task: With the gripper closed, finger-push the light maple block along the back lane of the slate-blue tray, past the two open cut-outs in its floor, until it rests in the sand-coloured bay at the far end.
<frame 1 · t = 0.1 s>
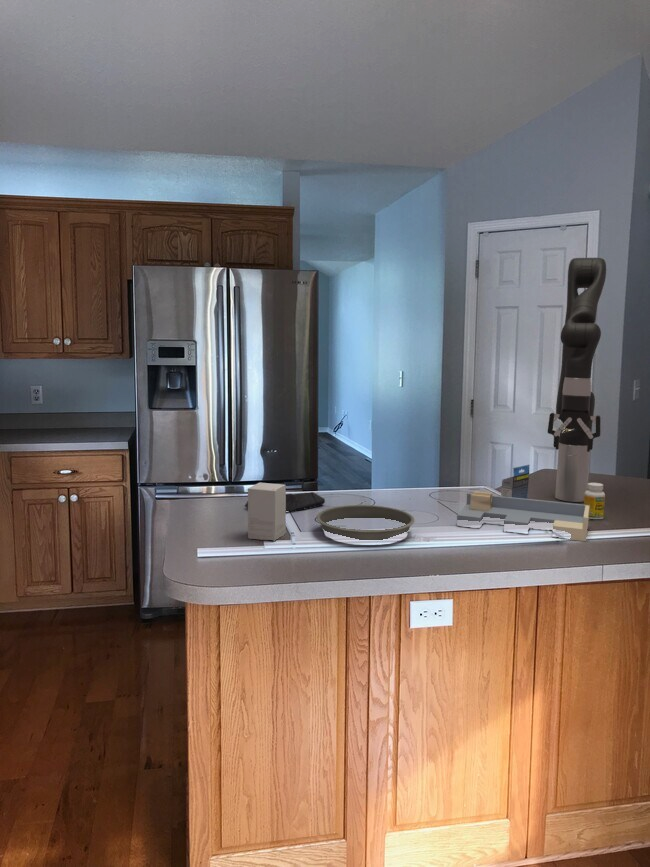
hand: (572, 450, 212), 17 cm above the countertop, tool pointing down, fingers open, 8 cm apart
cake pan: (364, 534, 186), on the countertop
label tape box: (513, 507, 216), on the countertop
supplement box: (266, 537, 181), on the countertop
supplement bottle: (593, 518, 205), on the countertop
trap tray: (522, 526, 194), on the countertop
maple block: (481, 508, 201), point 3 cm above the countertop, touching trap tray
dark slate chunk: (285, 508, 211), on the countertop
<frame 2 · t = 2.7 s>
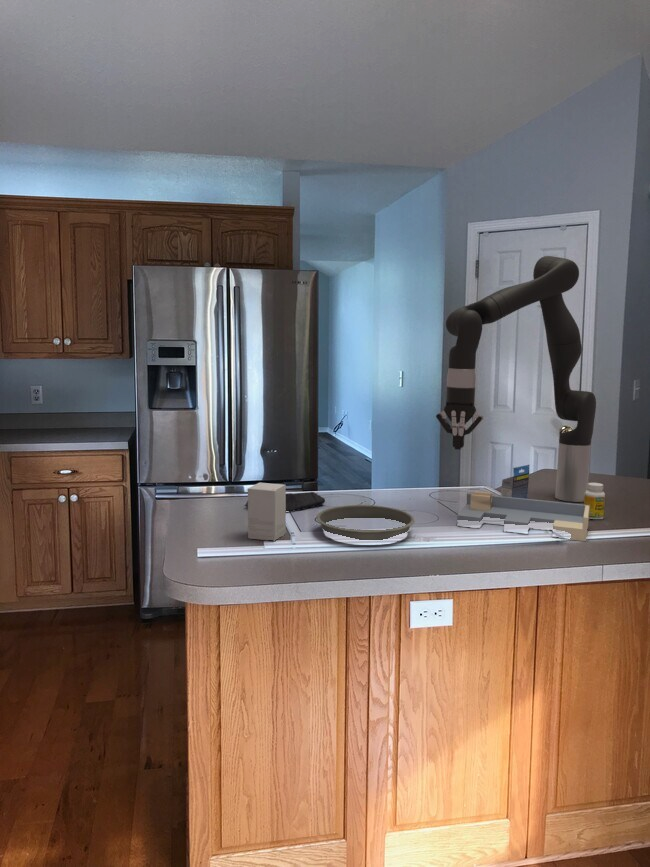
hand: (458, 449, 201), 19 cm above the countertop, tool pointing down, fingers closed
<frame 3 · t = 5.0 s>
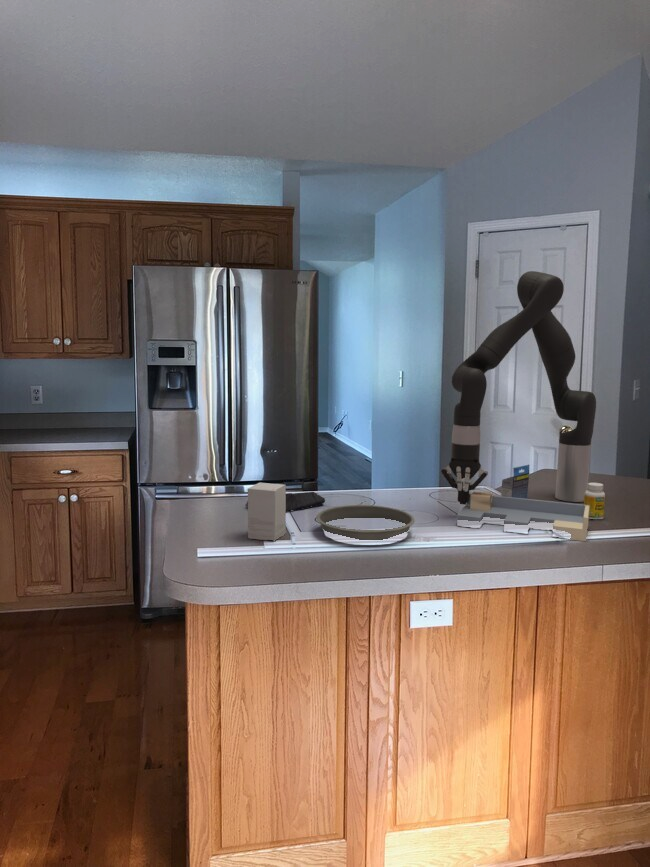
hand: (463, 503, 203), 4 cm above the countertop, tool pointing down, fingers closed
maple block: (481, 508, 201), point 3 cm above the countertop, touching gripper, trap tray
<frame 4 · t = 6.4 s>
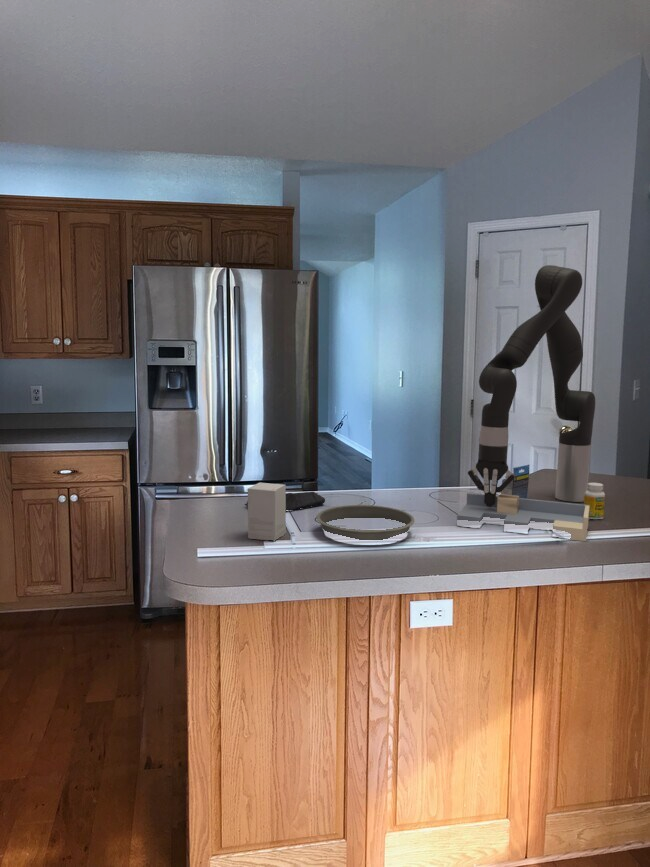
hand: (489, 506, 200), 4 cm above the countertop, tool pointing down, fingers closed
maple block: (507, 511, 198), point 3 cm above the countertop, touching gripper
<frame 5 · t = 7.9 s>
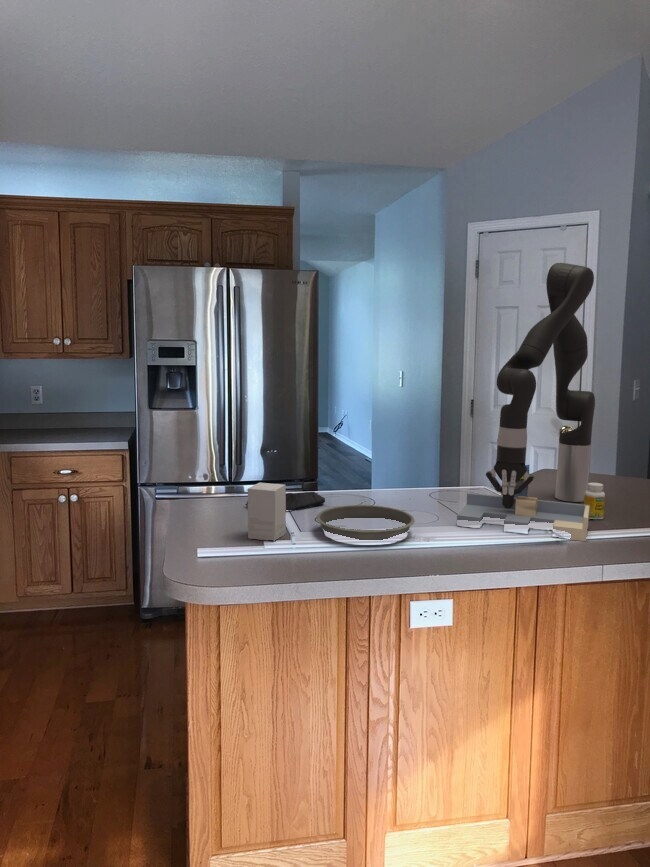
hand: (507, 507, 198), 4 cm above the countertop, tool pointing down, fingers closed
maple block: (525, 513, 196), point 3 cm above the countertop, touching gripper, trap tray
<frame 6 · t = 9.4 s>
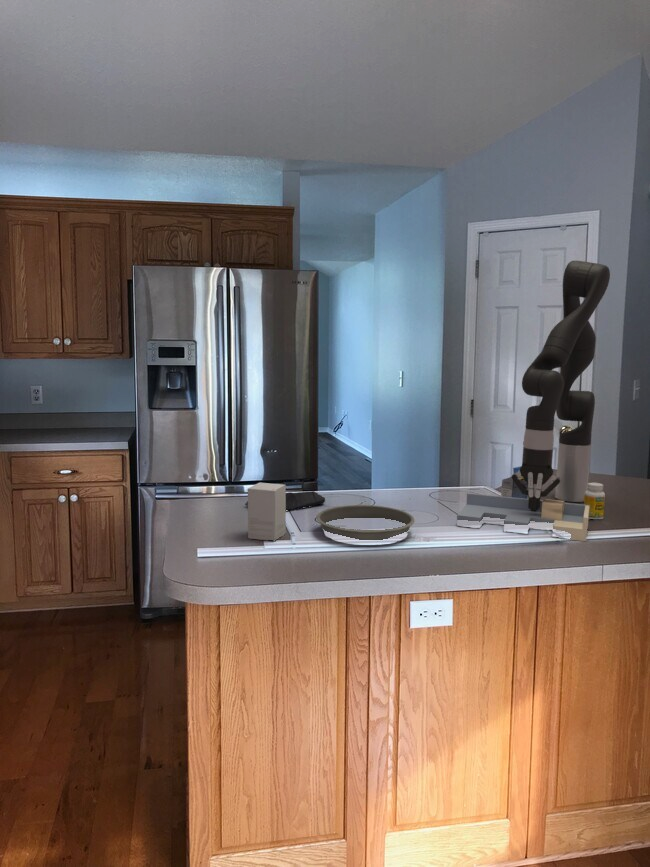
hand: (533, 510, 196), 4 cm above the countertop, tool pointing down, fingers closed
maple block: (552, 516, 193), point 3 cm above the countertop, touching gripper
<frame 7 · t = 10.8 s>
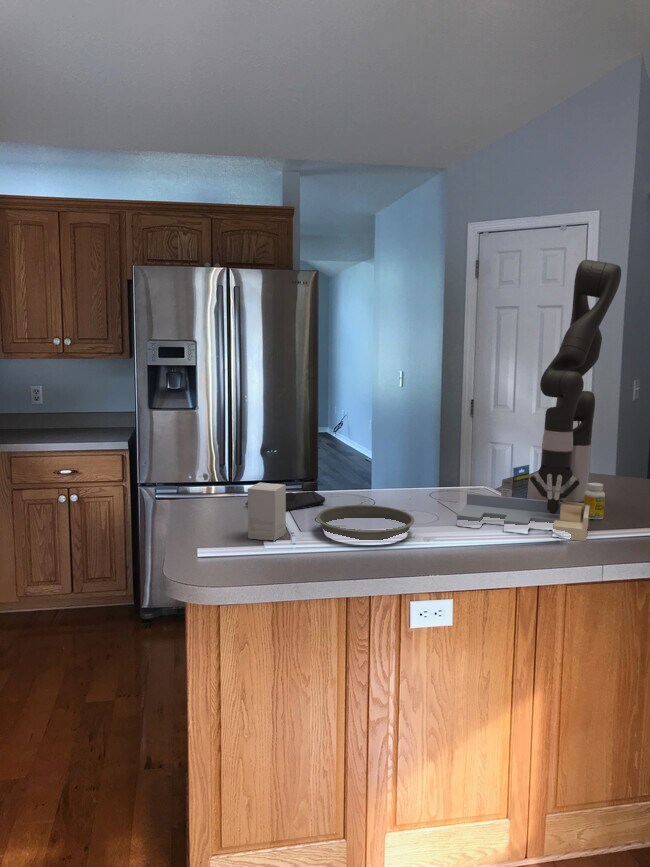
hand: (552, 512, 194), 4 cm above the countertop, tool pointing down, fingers closed
maple block: (571, 519, 191), point 3 cm above the countertop, touching gripper, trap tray
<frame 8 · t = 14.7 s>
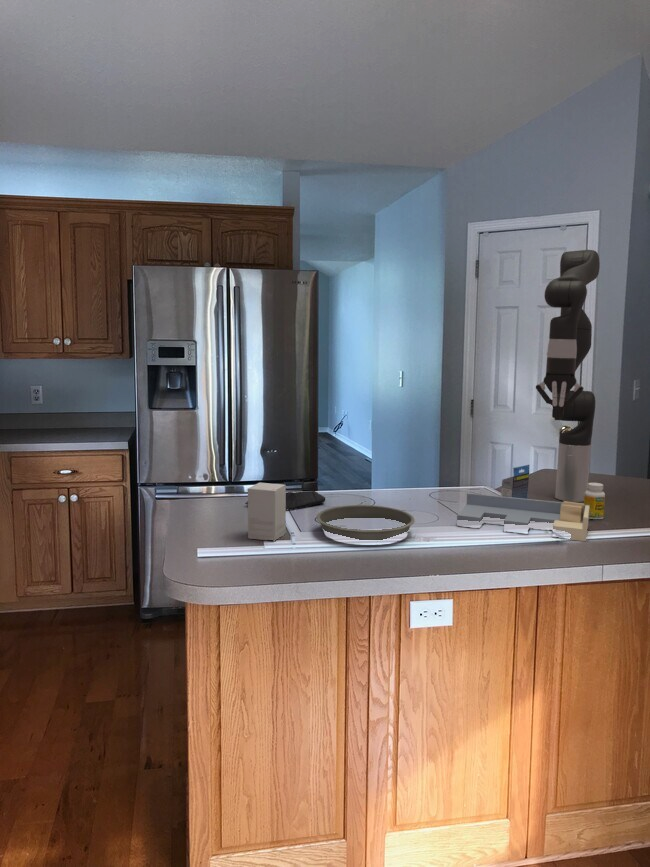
hand: (557, 419, 202), 27 cm above the countertop, tool pointing down, fingers closed
maple block: (571, 519, 191), point 3 cm above the countertop, touching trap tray
at the end: maple block inside the target area on the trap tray (0.8 cm from its centre), point 3.0 cm above the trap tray's base; maple block tilted 0° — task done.
